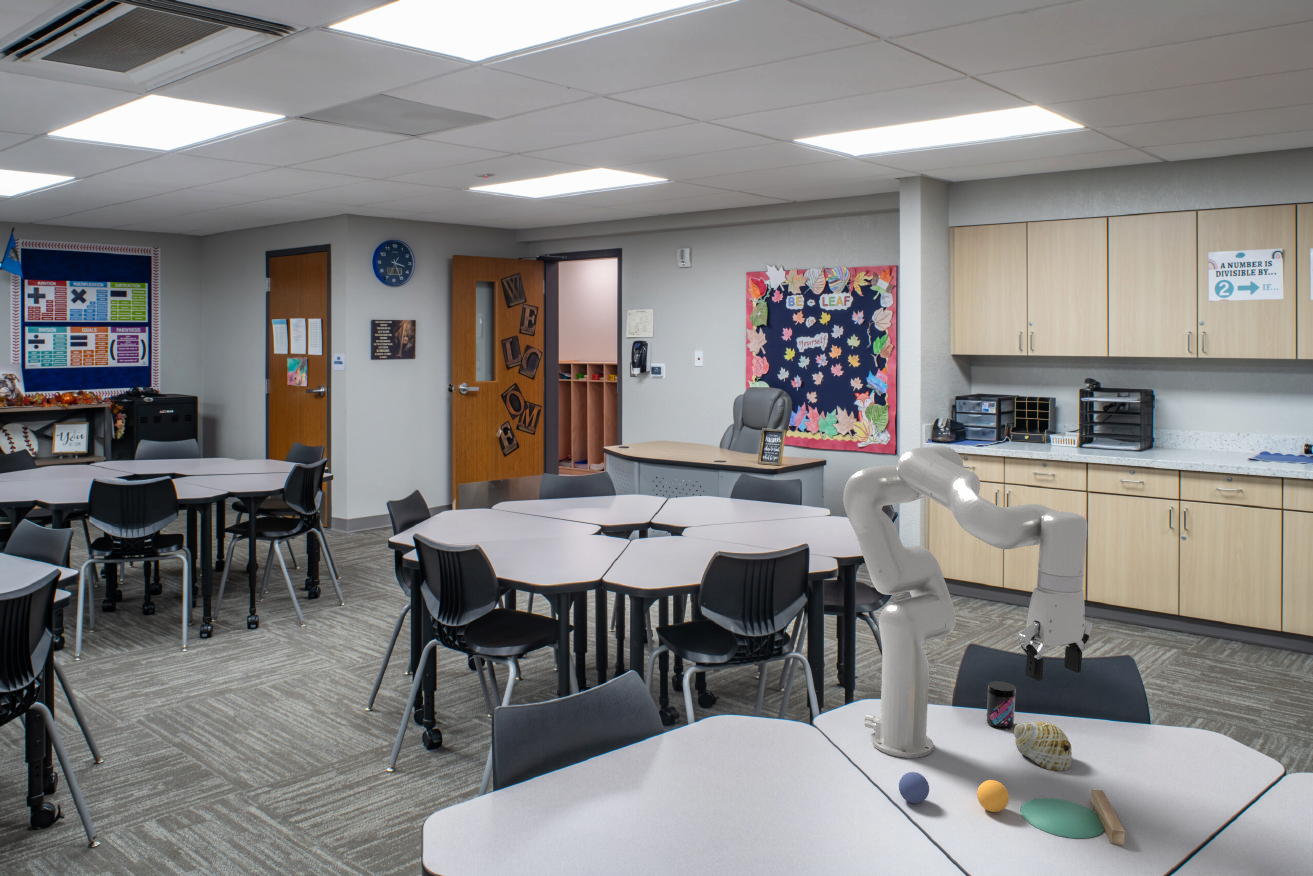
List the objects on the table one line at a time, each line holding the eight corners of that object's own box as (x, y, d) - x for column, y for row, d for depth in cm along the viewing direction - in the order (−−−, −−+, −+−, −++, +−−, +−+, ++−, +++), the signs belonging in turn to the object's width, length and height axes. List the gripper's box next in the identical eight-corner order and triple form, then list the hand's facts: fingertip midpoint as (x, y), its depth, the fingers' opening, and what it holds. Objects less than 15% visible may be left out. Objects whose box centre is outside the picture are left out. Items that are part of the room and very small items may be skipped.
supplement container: (982, 725, 212) (984, 686, 211) (990, 717, 216) (992, 679, 215) (1009, 732, 208) (1011, 693, 207) (1017, 724, 213) (1019, 685, 212)
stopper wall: (1111, 844, 163) (1112, 830, 162) (1090, 802, 177) (1091, 789, 177) (1123, 845, 162) (1124, 831, 162) (1102, 803, 177) (1103, 790, 176)
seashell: (1083, 769, 189) (1061, 724, 188) (1035, 787, 191) (1013, 742, 190) (1070, 744, 199) (1049, 701, 198) (1024, 761, 201) (1003, 719, 201)
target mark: (1027, 833, 166) (1027, 832, 166) (1015, 795, 179) (1015, 794, 179) (1113, 843, 163) (1113, 841, 163) (1094, 803, 176) (1094, 802, 176)
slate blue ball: (892, 802, 176) (894, 774, 176) (906, 791, 180) (907, 764, 180) (920, 812, 173) (921, 783, 172) (933, 801, 177) (935, 773, 176)
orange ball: (971, 810, 173) (972, 782, 173) (983, 800, 178) (985, 772, 177) (1001, 821, 170) (1002, 792, 169) (1012, 809, 174) (1014, 781, 173)
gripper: (1076, 571, 176) (1069, 660, 178) (1008, 581, 168) (1002, 674, 170) (1111, 582, 169) (1104, 674, 171) (1041, 592, 161) (1035, 688, 163)
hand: (1053, 674), depth 171 cm, fingers open, 9 cm apart
